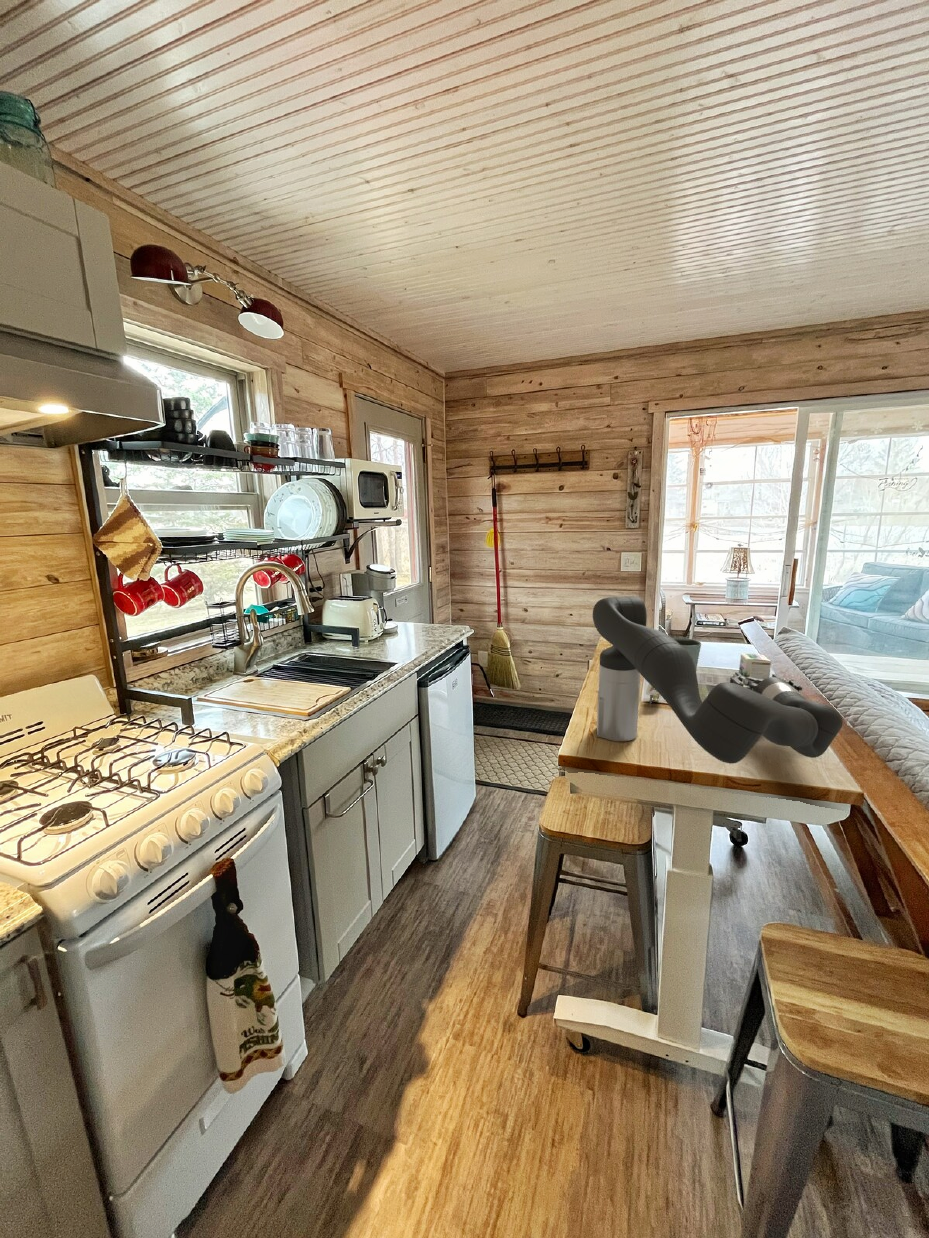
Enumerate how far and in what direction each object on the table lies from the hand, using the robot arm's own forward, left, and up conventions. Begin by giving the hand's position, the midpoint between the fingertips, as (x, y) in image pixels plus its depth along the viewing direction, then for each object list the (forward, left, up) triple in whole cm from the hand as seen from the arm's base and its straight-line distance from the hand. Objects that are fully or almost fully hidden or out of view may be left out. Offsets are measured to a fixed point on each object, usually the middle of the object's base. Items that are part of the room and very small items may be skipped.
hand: (754, 676), depth 131 cm
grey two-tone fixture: (-22, +7, -12) cm, 26 cm away
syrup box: (0, +2, -10) cm, 10 cm away
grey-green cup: (-12, +31, -11) cm, 35 cm away
